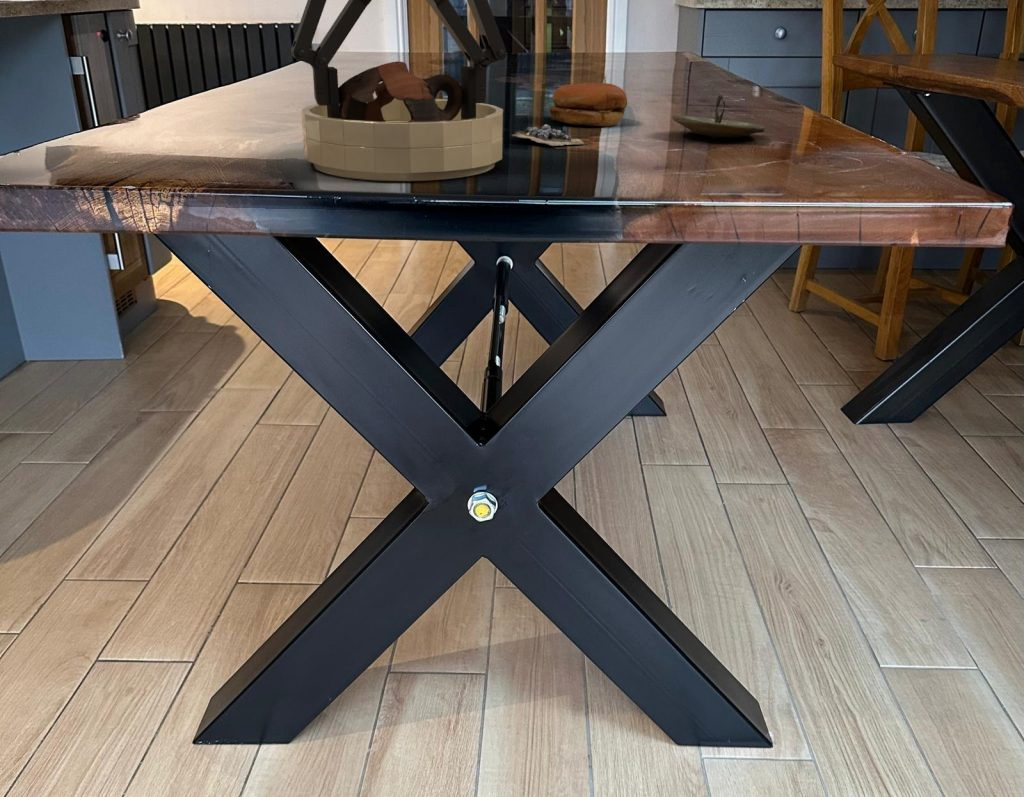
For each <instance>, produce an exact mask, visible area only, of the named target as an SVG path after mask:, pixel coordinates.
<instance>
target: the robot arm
mask: <svg viewBox="0 0 1024 797" xmlns="http://www.w3.org/2000/svg"><path fill="white" fill-rule="evenodd" d="M372 1H373V0H347V2H346V3H345V4H344V7H343V8H342V10H341V11H340V13H339V15H338V16H336V19H334V20H335V21H334V22H333V23H332V25H331V26H330V28H329V29H328V31H327V32H326V34H325V36H324V37H323V38H322V40H321V41H320V43H319V45H317V47H316V50H315V49H312V48H311V46H312V42H313V41H314V37H315V35H316V33H317V30H318V26H319V23H320V20H321V18H322V15H323V11H324V9H325V7H326V3H327V0H307V1H306V4H305V7H304V9H303V13H302V15H301V18H300V22H299V24H298V27H297V30H296V33H295V35H294V39H293V42H292V45H291V48H290V54H291V55H292V57H293V58H294V59H296V60H298V61H301V62H303V63H305V64H308V65H310V66H311V69H312V77H313V94H314V95H313V96H314V97H313V98H314V100H315V102H316V104H318V105H319V106H327V116H328V117H330V118H338V119H340V113H339V93H338V88H339V74H338V68H336V67H334V66H329V64H330V63H331V61H332V60H333V58H335V55H336V54H337V52H338V50H340V48H341V46H342V44H343V43H344V41H345V40H346V39H347V37H348V36H349V35H350V33H351V31H352V30H353V28H354V26H355V25H356V23H357V22H358V20H359V19H360V17H361V16H362V14H364V11H365V10H366V9H367V7H368V6H369V4H371V2H372ZM425 1H426V3H427V4H428V5H429V6H430V7H431V8H432V10H433V12H434V13H435V15H436V16H437V17H438V19H439V20H440V22H441V23H442V25H443V26H444V28H445V29H446V30H447V32H448V34H449V35H450V36H451V38H452V39H453V41H454V42H455V44H456V45H457V46H458V48H459V49H460V51H461V52H462V54H463V55H464V57H465V58H466V60H467V61H468V62H469V65H467V66H466V65H463V66H460V86H461V87H462V89H463V104H462V107H461V120H462V119H471V118H476V103H484V104H485V102H486V99H487V70H488V68H489V66H490V65H491V64H494V63H495V62H498V61H503V60H504V59H506V58H507V55H508V54H507V49H506V47H505V43H504V40H503V38H502V36H501V33H500V29H499V27H498V24H497V22H496V19H495V17H494V14H493V11H492V9H491V6H490V2H489V0H466V1H467V4H468V7H469V10H470V12H471V15H472V17H473V20H474V23H475V25H476V28H477V30H478V33H479V36H480V38H481V41H482V45H483V47H484V48H483V49H482V47H481V46H480V45H479V42H478V41H477V40H476V39H475V37H474V36H473V34H472V33H471V31H470V30H469V28H468V27H467V25H466V24H465V22H464V21H463V19H462V17H461V16H460V15H459V13H458V12H457V10H456V8H455V7H454V6H453V4H452V3H451V1H450V0H425Z"/></svg>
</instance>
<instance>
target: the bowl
mask: <svg viewBox="0 0 1024 797" xmlns="http://www.w3.org/2000/svg"><path fill="white" fill-rule="evenodd" d="M375 98H376V97H374V99H375ZM447 99H448V98H447ZM447 99H444V98H436V99H435V102H436V104H437V105H438V107H439V108H440V109H444V108H445V106H446V104H447ZM367 103H368V102H367ZM339 105H340V104H339ZM381 111H382V115H383V119H384V120H385V121H386V122H374V121H359V120H345V119H338V118H330V117H328V116H327V106H319V105H318V104H317V103H315V104H311V105H307V106H305V107H304V108H303V109H301V111H300V112H301V125H302V136H303V137H302V138H303V139H302V140H303V151H304V152H303V153H304V155H303V156H304V157H305V159H306V161H307V162H309V163H311V164H313V167H314V168H315V169H316V170H317V171H319V172H322V173H323V174H327V175H330V176H334V177H340V178H346V179H355V180H361V181H362V180H363V181H364V180H365V181H379V182H428V181H440V180H452V179H460V178H461V179H462V178H466V177H472V176H477V175H480V174H485V173H487V172H489V171H491V170H493V169H494V168H495V166H496V163H497V162H500V161H501V160H503V155H504V109H503V108H501V107H499V106H496V105H492V104H490V103H489V104H488V103H485V102H484V103H476V118H471V119H462V120H461V109H460V111H459V113H458V115H457V116H456V117H455V118H454V119H453V120H449V121H431V122H408V121H410V120H411V116H410V113H409V111H408V109H407V108H406V106H405V105H404V102H403V100H397V99H394V100H393V101H392V102H390V103H389V104H387V105H385V106H383V107H382V108H381Z"/></svg>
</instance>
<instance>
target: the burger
mask: <svg viewBox="0 0 1024 797" xmlns="http://www.w3.org/2000/svg"><path fill="white" fill-rule="evenodd" d="M551 98H552V103H553V104H554V105H553V106H552V105H551V106H549V108H548V109H549V114H550V117H551V120H553V121H556V122H558V123H563V124H568V125H573V126H577V125H578V126H587V127H588V126H589V127H613V126H616V125H617V124H619V122H620V121H621V120H622V119H623V117H624V115H625V111H626V107H628V96H627V94H626V92H625V91H624V89H623V88H622V87H619V86H618V85H616V84H613V83H606V82H580V83H579V84H573V83H571V84H570V83H569V84H564V85H561V86H559V87H557V88H556V89H555V90H554V92H553V93H552V97H551Z"/></svg>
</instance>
